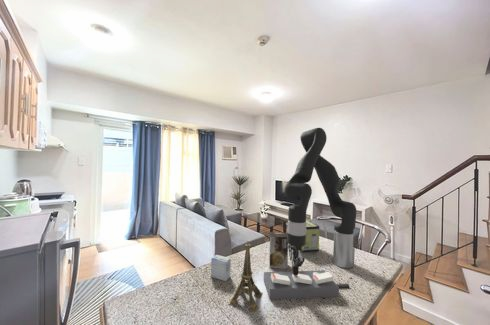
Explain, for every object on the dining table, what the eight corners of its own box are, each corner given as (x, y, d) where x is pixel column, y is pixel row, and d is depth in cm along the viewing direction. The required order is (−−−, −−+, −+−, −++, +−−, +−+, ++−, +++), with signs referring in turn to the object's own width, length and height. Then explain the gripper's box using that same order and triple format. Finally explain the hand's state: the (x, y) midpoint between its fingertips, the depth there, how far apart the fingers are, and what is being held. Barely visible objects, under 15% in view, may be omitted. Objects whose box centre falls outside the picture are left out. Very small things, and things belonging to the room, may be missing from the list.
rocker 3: (328, 275, 86) (328, 271, 86) (333, 280, 82) (332, 276, 82) (313, 279, 85) (312, 275, 85) (317, 284, 82) (316, 280, 82)
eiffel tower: (256, 312, 71) (258, 241, 71) (228, 304, 75) (230, 237, 74) (262, 293, 82) (264, 231, 81) (237, 287, 85) (239, 228, 84)
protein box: (287, 246, 128) (288, 221, 128) (309, 244, 132) (310, 220, 132) (295, 253, 118) (296, 227, 118) (319, 251, 122) (320, 225, 122)
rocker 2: (307, 279, 85) (308, 275, 85) (311, 284, 81) (312, 280, 81) (291, 276, 84) (292, 272, 84) (294, 281, 81) (295, 277, 81)
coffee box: (286, 263, 107) (287, 232, 106) (287, 269, 100) (288, 237, 100) (268, 261, 108) (269, 231, 107) (269, 268, 101) (270, 235, 101)
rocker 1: (286, 279, 84) (287, 275, 84) (289, 285, 80) (290, 280, 80) (270, 277, 83) (271, 273, 83) (272, 282, 80) (273, 278, 80)
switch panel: (340, 278, 94) (340, 268, 94) (357, 296, 82) (357, 284, 82) (263, 281, 90) (263, 270, 90) (269, 299, 78) (270, 287, 78)
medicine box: (230, 277, 92) (231, 258, 92) (225, 282, 88) (226, 262, 88) (216, 272, 96) (216, 254, 96) (210, 277, 92) (211, 258, 92)
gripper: (312, 237, 76) (310, 283, 76) (299, 226, 89) (298, 265, 90) (293, 237, 76) (291, 284, 76) (282, 226, 89) (281, 265, 89)
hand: (295, 274), depth 83 cm, fingers closed
